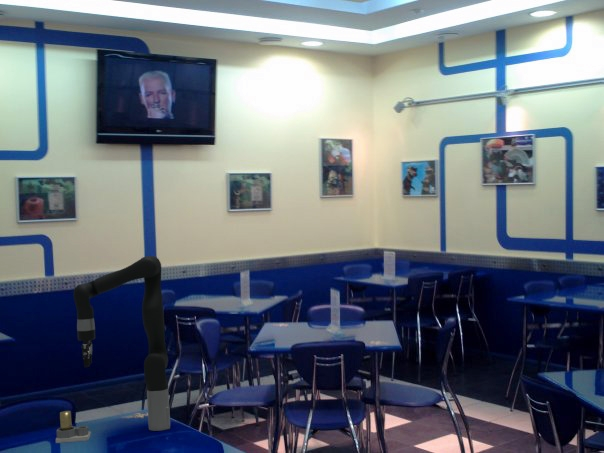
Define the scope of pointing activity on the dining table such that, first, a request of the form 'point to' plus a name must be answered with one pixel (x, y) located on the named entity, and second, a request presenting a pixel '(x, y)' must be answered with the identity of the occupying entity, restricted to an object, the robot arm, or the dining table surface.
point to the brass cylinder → (65, 420)
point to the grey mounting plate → (73, 434)
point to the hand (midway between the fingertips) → (88, 365)
